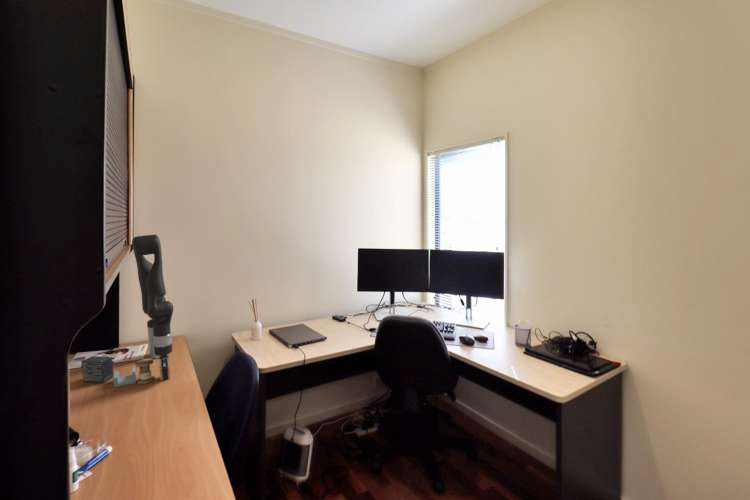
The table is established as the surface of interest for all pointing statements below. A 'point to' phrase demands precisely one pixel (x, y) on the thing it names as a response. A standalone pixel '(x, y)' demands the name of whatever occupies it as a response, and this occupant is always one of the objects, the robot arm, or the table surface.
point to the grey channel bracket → (124, 378)
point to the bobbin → (144, 371)
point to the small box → (97, 369)
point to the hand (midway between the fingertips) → (165, 377)
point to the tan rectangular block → (162, 375)
